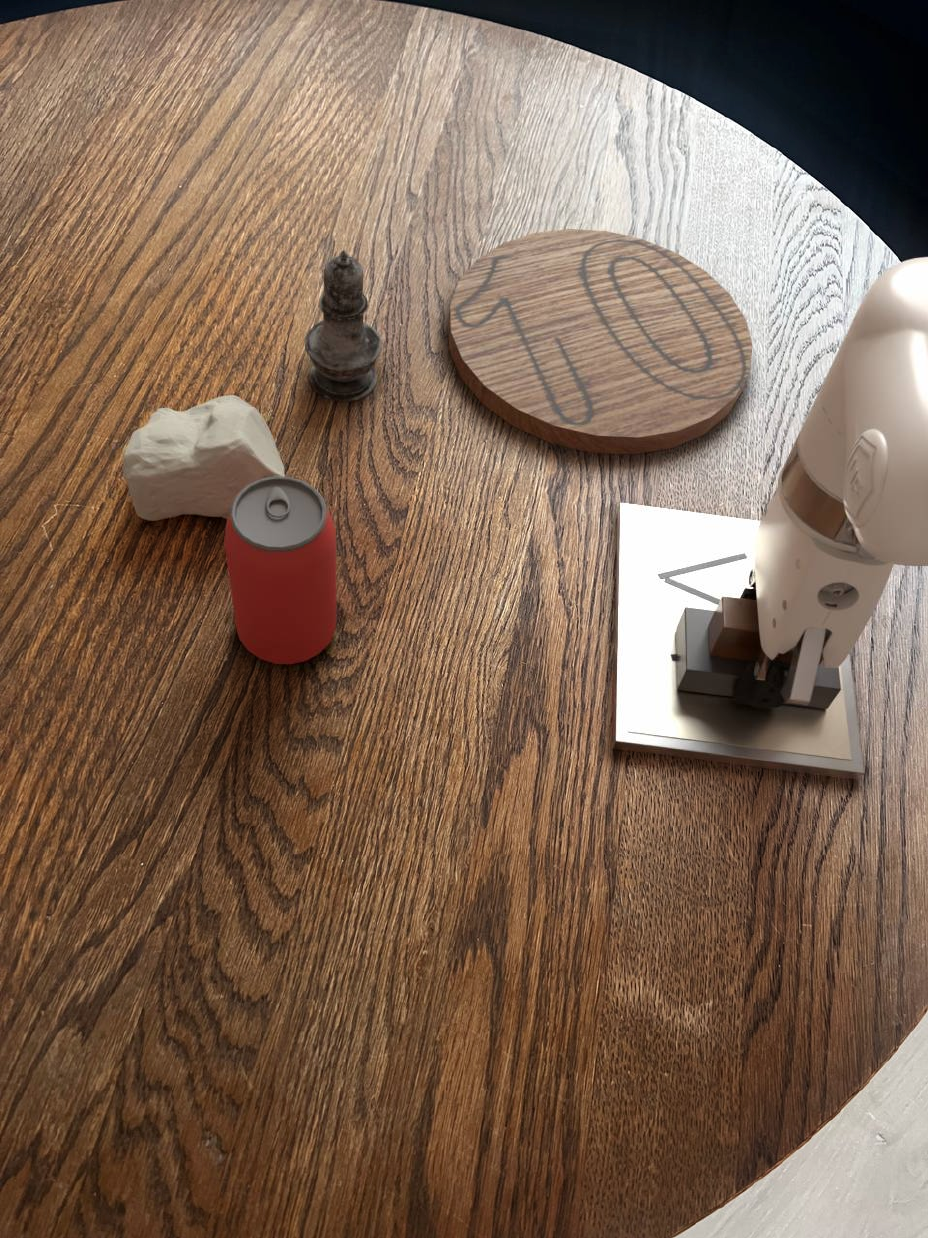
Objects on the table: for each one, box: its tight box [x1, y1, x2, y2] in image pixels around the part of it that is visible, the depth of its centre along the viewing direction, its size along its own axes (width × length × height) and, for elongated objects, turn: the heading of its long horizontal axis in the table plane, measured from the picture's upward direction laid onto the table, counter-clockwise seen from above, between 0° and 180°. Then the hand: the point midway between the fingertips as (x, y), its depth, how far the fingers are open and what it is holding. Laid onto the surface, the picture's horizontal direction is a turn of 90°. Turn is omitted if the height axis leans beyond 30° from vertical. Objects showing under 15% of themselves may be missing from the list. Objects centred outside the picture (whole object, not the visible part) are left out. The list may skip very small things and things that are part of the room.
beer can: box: [223, 476, 337, 665], centre depth 70 cm, size 7×7×12 cm
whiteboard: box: [611, 502, 865, 781], centre depth 78 cm, size 20×16×1 cm
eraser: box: [676, 596, 841, 709], centre depth 73 cm, size 10×5×6 cm, turn 85°
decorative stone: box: [122, 394, 286, 522], centre depth 79 cm, size 11×9×10 cm
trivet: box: [447, 228, 753, 455], centre depth 93 cm, size 25×25×2 cm
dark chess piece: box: [304, 250, 383, 403], centre depth 84 cm, size 6×6×12 cm
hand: (754, 662), depth 75 cm, fingers closed on eraser, 5 cm apart
